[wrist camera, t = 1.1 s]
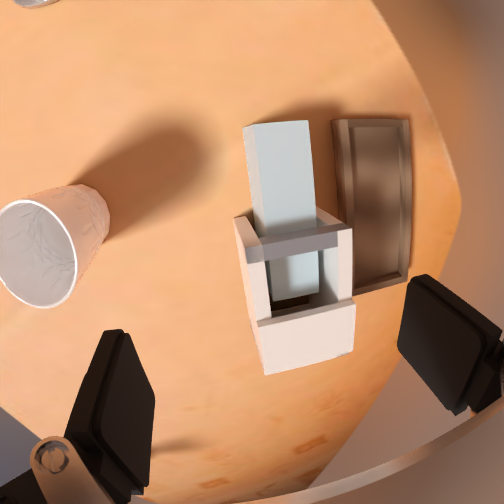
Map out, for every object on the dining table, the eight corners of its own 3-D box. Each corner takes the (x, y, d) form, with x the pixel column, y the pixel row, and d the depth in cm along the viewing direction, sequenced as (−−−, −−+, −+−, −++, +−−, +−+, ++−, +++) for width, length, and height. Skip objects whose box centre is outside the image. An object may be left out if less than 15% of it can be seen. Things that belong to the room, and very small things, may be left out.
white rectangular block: (242, 128, 25) (253, 124, 19) (285, 123, 25) (307, 119, 20) (260, 271, 30) (273, 301, 25) (298, 264, 31) (318, 292, 25)
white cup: (128, 195, 25) (91, 226, 16) (103, 268, 27) (68, 325, 18) (58, 166, 23) (-2, 182, 14) (39, 239, 25) (-13, 281, 16)
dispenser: (232, 218, 28) (246, 252, 19) (314, 204, 28) (357, 231, 20) (250, 325, 32) (266, 381, 24) (319, 309, 33) (352, 358, 25)
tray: (330, 120, 26) (339, 119, 24) (397, 119, 26) (408, 119, 25) (340, 289, 32) (347, 297, 31) (398, 274, 33) (407, 281, 31)
